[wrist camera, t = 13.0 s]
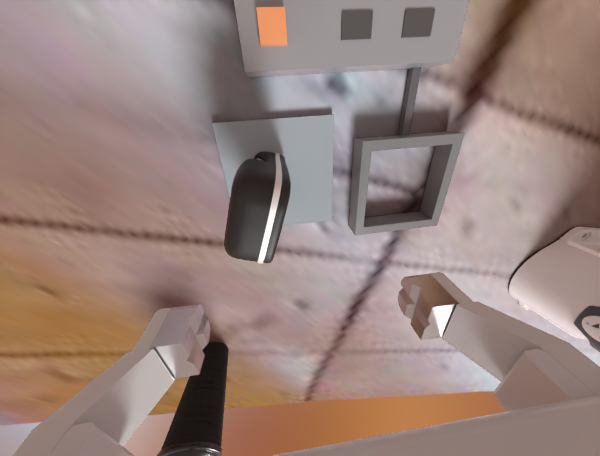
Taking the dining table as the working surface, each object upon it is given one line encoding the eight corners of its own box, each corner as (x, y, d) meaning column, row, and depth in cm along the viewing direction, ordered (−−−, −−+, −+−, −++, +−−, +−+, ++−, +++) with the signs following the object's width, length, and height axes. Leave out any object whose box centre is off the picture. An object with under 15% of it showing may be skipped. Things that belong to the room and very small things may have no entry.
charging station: (482, -5, 19) (525, -28, 16) (424, 217, 29) (443, 229, 26) (236, 1, 17) (229, -24, 14) (271, 234, 28) (271, 250, 25)
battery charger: (249, 143, 21) (227, 168, 11) (285, 153, 22) (294, 185, 12) (239, 204, 25) (215, 267, 15) (271, 211, 25) (269, 275, 15)
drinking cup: (224, 331, 36) (181, 541, 18) (243, 355, 39) (223, 546, 22) (182, 345, 36) (101, 564, 19) (205, 367, 40) (156, 565, 22)
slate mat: (332, 114, 22) (333, 114, 21) (330, 218, 28) (331, 220, 27) (213, 122, 21) (211, 123, 20) (238, 228, 27) (237, 230, 26)
